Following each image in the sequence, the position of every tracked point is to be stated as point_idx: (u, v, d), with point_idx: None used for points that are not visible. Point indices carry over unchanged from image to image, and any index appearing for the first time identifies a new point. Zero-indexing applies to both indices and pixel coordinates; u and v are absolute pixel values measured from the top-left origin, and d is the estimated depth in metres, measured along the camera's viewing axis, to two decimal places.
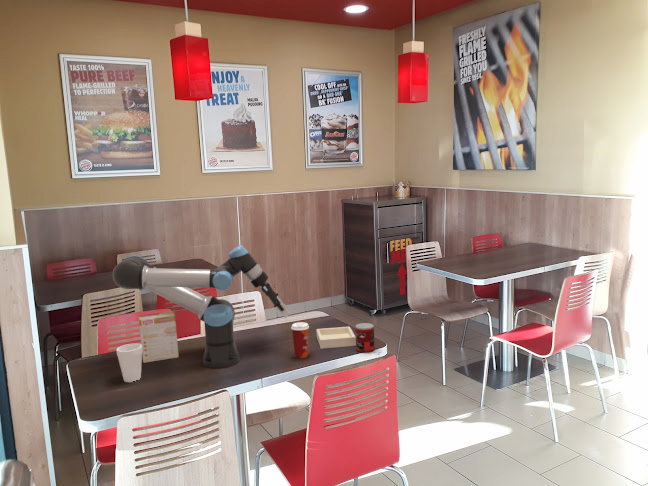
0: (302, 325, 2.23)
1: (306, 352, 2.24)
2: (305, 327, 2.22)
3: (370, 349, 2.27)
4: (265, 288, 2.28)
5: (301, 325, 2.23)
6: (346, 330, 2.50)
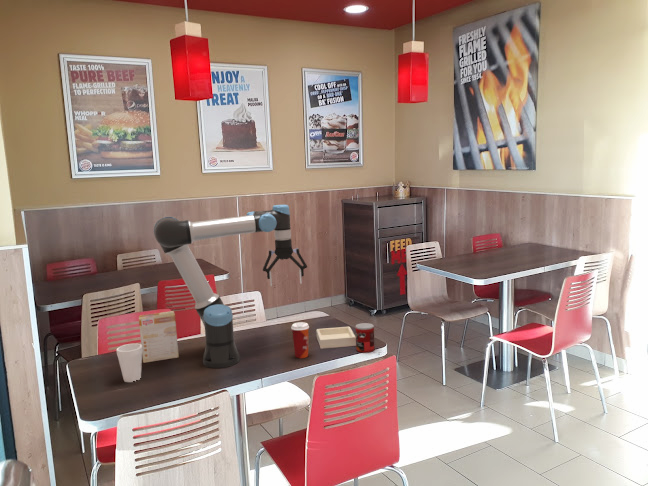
0: (302, 325, 2.23)
1: (306, 352, 2.24)
2: (305, 327, 2.22)
3: (370, 349, 2.27)
4: (298, 250, 2.40)
5: (301, 325, 2.23)
6: (346, 330, 2.50)
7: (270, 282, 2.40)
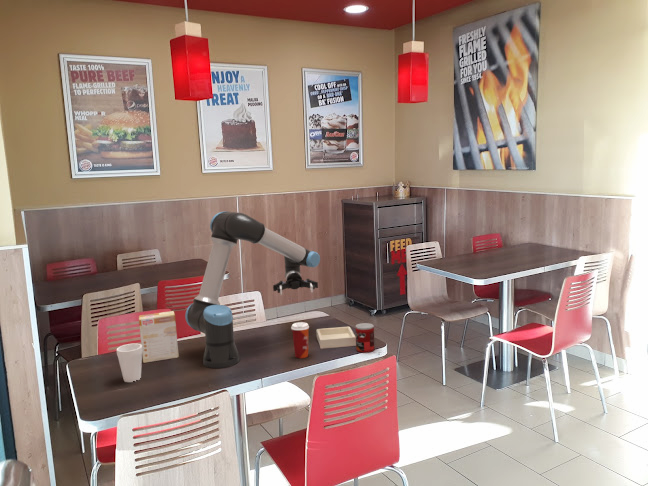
0: (302, 325, 2.23)
1: (306, 352, 2.24)
2: (305, 327, 2.22)
3: (370, 349, 2.27)
4: None
5: (301, 325, 2.23)
6: (346, 330, 2.50)
7: (280, 287, 2.32)
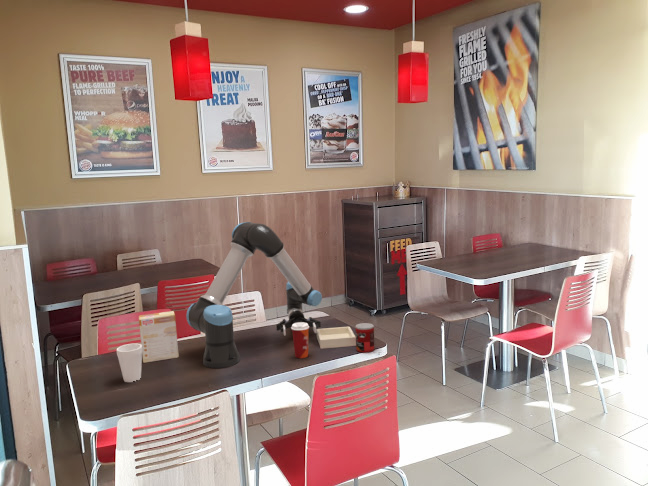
0: (302, 325, 2.23)
1: (306, 352, 2.24)
2: (305, 327, 2.22)
3: (370, 349, 2.27)
4: None
5: (301, 325, 2.23)
6: (346, 330, 2.50)
7: (283, 328, 2.34)
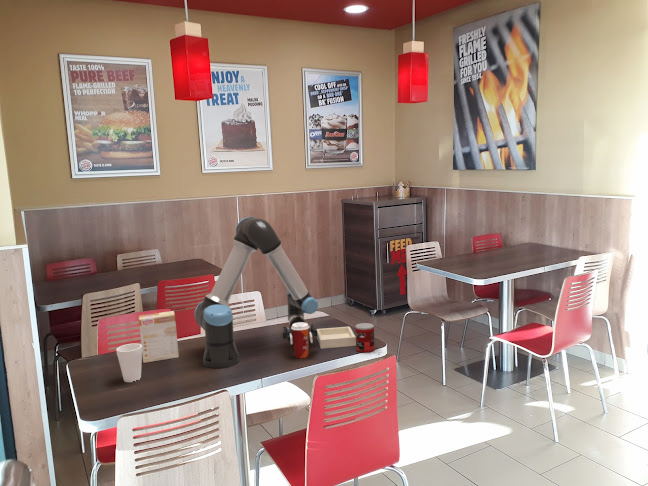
0: (302, 325, 2.23)
1: (306, 352, 2.24)
2: (305, 327, 2.22)
3: (370, 349, 2.27)
4: None
5: (301, 325, 2.23)
6: (346, 330, 2.50)
7: (290, 336, 2.21)
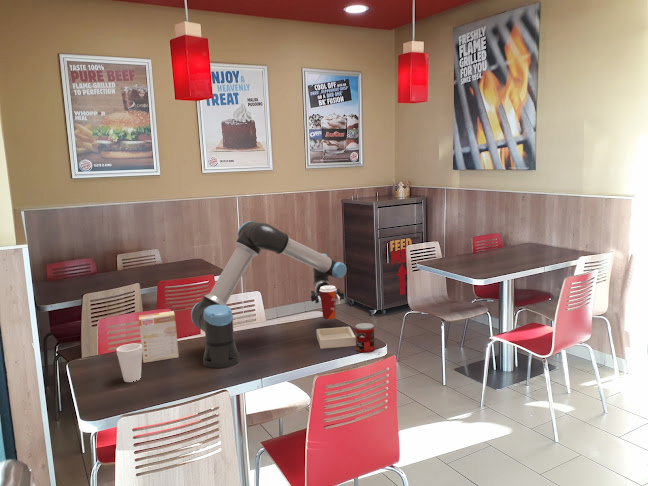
0: (330, 287, 2.33)
1: (334, 313, 2.35)
2: (333, 289, 2.32)
3: (370, 349, 2.27)
4: None
5: (329, 287, 2.33)
6: (346, 330, 2.50)
7: (319, 298, 2.32)
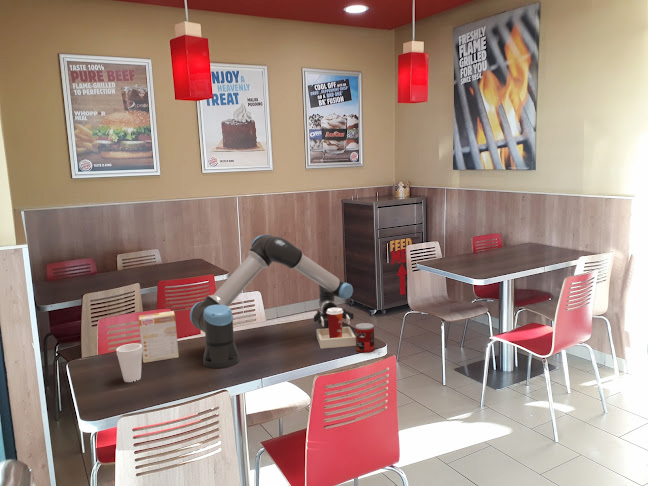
0: (337, 310, 2.39)
1: (340, 335, 2.40)
2: (340, 312, 2.38)
3: (370, 349, 2.27)
4: None
5: (336, 310, 2.39)
6: (346, 330, 2.50)
7: (321, 319, 2.38)
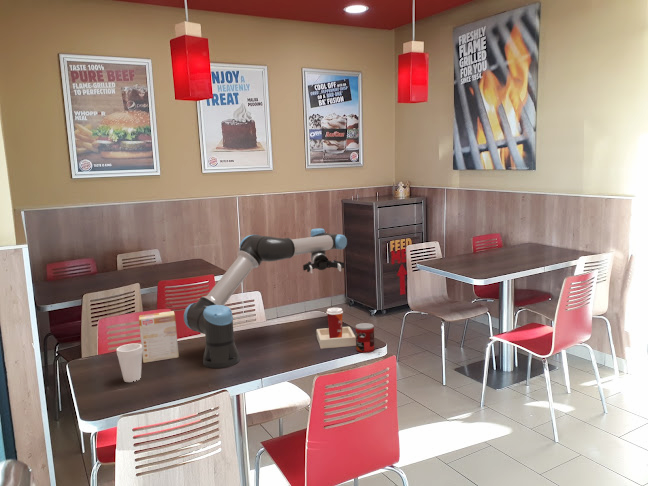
0: (337, 310, 2.39)
1: (340, 335, 2.40)
2: (339, 312, 2.38)
3: (370, 349, 2.27)
4: None
5: (336, 310, 2.39)
6: (346, 330, 2.50)
7: (310, 266, 2.48)
